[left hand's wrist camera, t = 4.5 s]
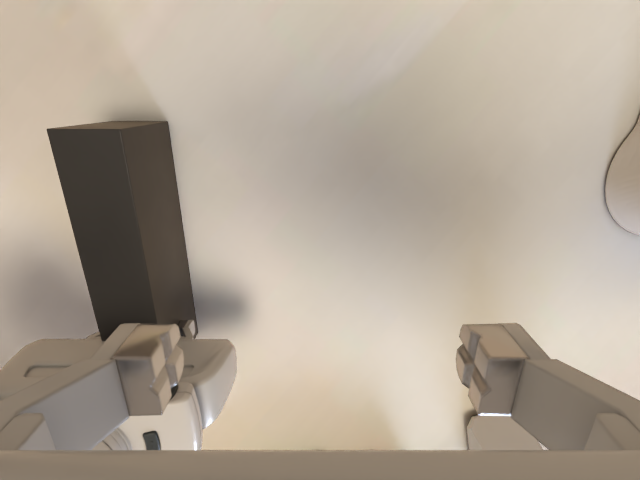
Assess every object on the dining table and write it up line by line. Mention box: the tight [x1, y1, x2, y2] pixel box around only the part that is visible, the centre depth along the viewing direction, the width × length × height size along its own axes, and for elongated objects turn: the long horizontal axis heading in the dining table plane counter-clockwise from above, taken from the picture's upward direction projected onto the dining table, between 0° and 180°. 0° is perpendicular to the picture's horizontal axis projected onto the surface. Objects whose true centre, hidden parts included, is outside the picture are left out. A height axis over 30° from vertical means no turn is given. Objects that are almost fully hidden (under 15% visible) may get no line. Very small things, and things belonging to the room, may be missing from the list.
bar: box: [47, 121, 198, 341], centre depth 37 cm, size 26×6×10 cm, turn 0°
